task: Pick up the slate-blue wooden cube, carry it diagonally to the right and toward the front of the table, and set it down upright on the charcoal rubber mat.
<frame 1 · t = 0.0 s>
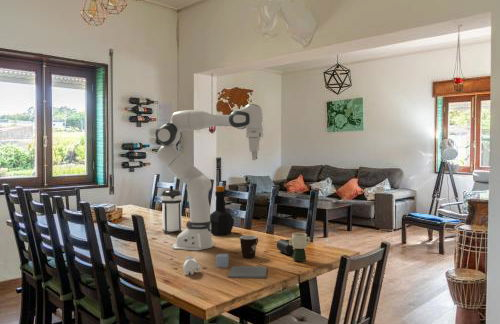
hand: (254, 159, 227), 48 cm above the table, tool pointing down, fingers open, 8 cm apart
character mug: (299, 261, 203), on the table
end cap: (287, 254, 216), on the table
slate cube: (222, 265, 196), on the table
charcoal mat: (248, 272, 185), on the table
bottle: (220, 233, 265), on the table
coffee mug: (251, 257, 211), on the table
elephant figurine: (191, 273, 185), on the table
coffee press: (171, 231, 272), on the table
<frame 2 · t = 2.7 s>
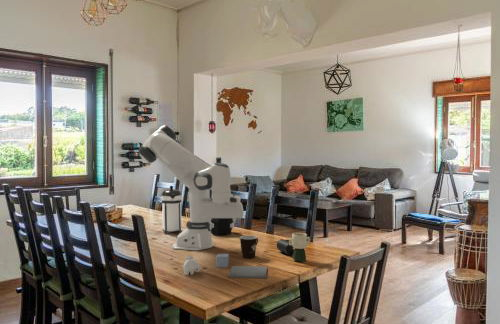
hand: (222, 227, 195), 18 cm above the table, tool pointing down, fingers open, 8 cm apart
nothing on the table moved.
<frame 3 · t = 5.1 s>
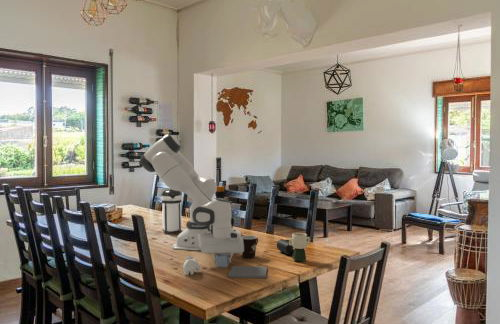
hand: (222, 262, 196), 2 cm above the table, tool pointing down, fingers closed on slate cube, 5 cm apart
slate cube: (222, 265, 196), on the table, touching gripper
everything else where it was.
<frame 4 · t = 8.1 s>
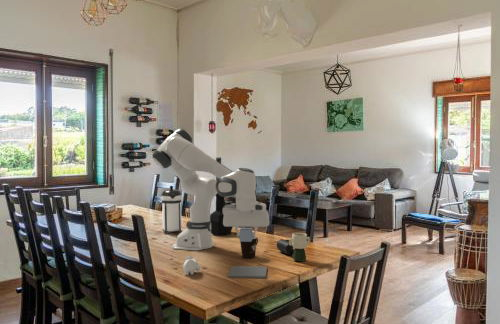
hand: (246, 236, 184), 16 cm above the table, tool pointing down, fingers closed on slate cube, 5 cm apart
slate cube: (246, 240, 184), point 15 cm above the table, touching gripper
everything else where it was.
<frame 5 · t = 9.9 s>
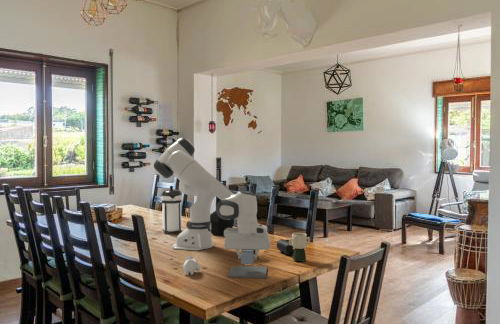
hand: (247, 258, 185), 6 cm above the table, tool pointing down, fingers closed on slate cube, 5 cm apart
slate cube: (247, 262, 185), point 5 cm above the table, touching gripper
everything else where it was.
when the fingers open (4 cm above the table, at t = 11.3 s): slate cube drops 1 cm, resting on charcoal mat.
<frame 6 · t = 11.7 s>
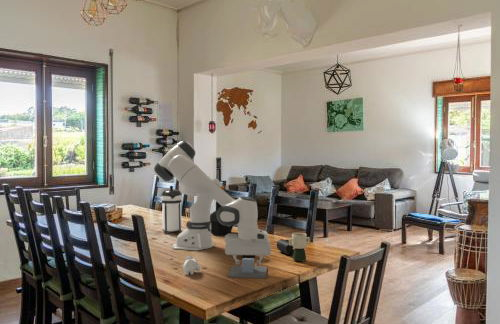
hand: (248, 264, 185), 4 cm above the table, tool pointing down, fingers open, 8 cm apart
slate cube: (248, 270, 185), point 1 cm above the table, touching charcoal mat
everything else where it was.
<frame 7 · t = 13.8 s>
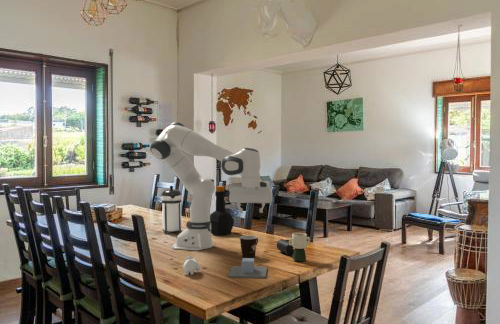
hand: (250, 212, 195), 25 cm above the table, tool pointing down, fingers open, 8 cm apart
nothing on the table moved.
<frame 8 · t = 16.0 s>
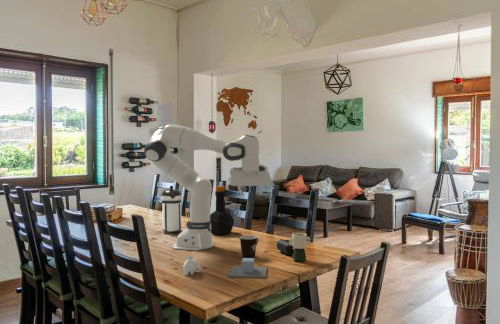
hand: (250, 194, 210), 31 cm above the table, tool pointing down, fingers open, 8 cm apart
nothing on the table moved.
at the end: slate cube inside the target area on the charcoal mat (0.1 cm from its centre), point 0.8 cm above the charcoal mat's base; the gripper is holding nothing; slate cube tilted 0° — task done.
